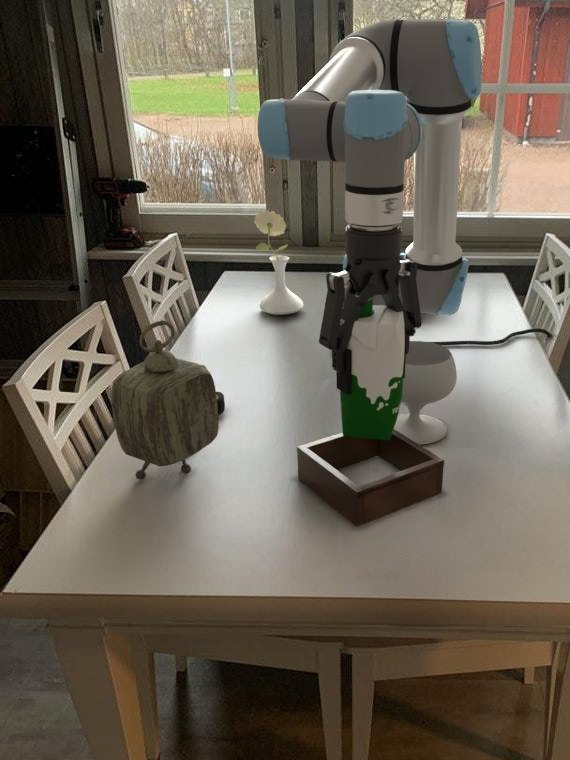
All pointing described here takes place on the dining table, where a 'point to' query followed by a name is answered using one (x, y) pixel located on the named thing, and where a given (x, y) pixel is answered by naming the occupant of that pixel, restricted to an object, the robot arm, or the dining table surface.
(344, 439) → the crate
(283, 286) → the flower in vase
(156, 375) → the tabletop clock
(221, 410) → the tape measure
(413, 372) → the chalice
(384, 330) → the soya milk
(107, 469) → the dining table surface
